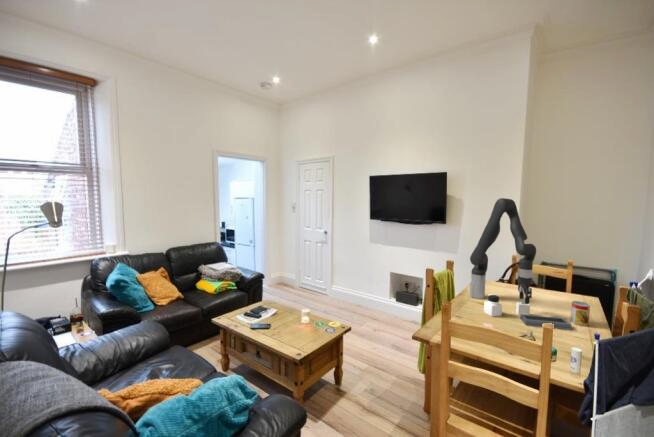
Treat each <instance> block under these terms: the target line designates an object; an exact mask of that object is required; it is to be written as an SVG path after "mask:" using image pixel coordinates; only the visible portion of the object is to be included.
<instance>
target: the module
mask: <svg viewBox="0 0 654 437" xmlns="http://www.w3.org/2000/svg"><path fill="white" fill-rule="evenodd" d="M515 305H516V306H515V307H516V309H515V313H516V315H517V316H520V314H524V315H530V313H531V312H530V311H531V305H530V303H529V304H525V301H516V304H515Z"/></svg>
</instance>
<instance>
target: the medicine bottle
mask: <svg viewBox="0 0 654 437" xmlns="http://www.w3.org/2000/svg"><path fill="white" fill-rule="evenodd" d="M499 302H500V296H499V295H496V294H493V293H492V294H491V293H490V294H488V295H487V300H486V301H484V302H483V303H484V304H483V313H485V314H487V315H488V316H489V317H502V313H503V304H501V303H499Z"/></svg>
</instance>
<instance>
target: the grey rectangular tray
mask: <svg viewBox="0 0 654 437" xmlns="http://www.w3.org/2000/svg"><path fill="white" fill-rule="evenodd" d="M519 319H520V321H521V322H522V323H523V324H524V325H525V326H526V327H534V328H535V327H536V328H537V327H538V328H543V327H542V324H543V323H552V324H554V328H553V329H555V330H564V331H565V330H566V331H572V323H571V322H569V321H567V320H566V319H565V318H563V317H558V316H557V317H555V316H545V315H544V316H543V315H533V314H529V315H524V314H520V315H519ZM556 328H557V329H556Z"/></svg>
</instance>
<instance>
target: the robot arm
mask: <svg viewBox="0 0 654 437" xmlns="http://www.w3.org/2000/svg"><path fill="white" fill-rule="evenodd" d="M504 213H506V215H507V216H508V218H509V223H510V224H509V229H510V232H511V235H512V238H513V239H514V245H515V251H516V253H517V254H518V255H520V256H521V257H522V256H524V257H522V258H520V259H519V261H518V271H517V284H518V285H517V291H518V293H519V296H518V297H519V299H520V300H523V299H524V302H525V304H529V305H530V299H532V298H533V292H532V291H533V289H532V287H530V285H533V281H534V280H533V278H534V276H533V275H534V274H533V269H534V268H533V265H534V260H535V258H536V255H537V248H536V245H534V244H533V243H525V241H526V240H527V239H528V235H527V233H526V231H525V229H524V227H523V225H522V221H521V218H520V215H519V211H518V208H517V205H516V202H515V201H514V200H513V199H511V198H505V197H504V198H498V199H497V200H496V201H495V203H494V206H493V209H492V211H491V214H490V217H489V218H488V221H487V224H486V226H485V227H484V229H483V232H482V233H481V236H480V238H479V240H478V242H477V244H476V246H475V247H474V250H473V251H472V253H471V255H470V256H469V261H470V263H471V264H472V265H473V268H471V276H470V278H471V280H470V283H469V284H470V286H469V296H470V298H473V299H477V300H484V299H485V295H486V293H485V292H486V276H487V271H488V265H489V258H488V255H487V252H488V249H489V248H490V247H491V246H492V245H493V244H494V243H495V241H496V240H497V239H498V236H499V235H500V232H501V219H502V217H503V215H504Z"/></svg>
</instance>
